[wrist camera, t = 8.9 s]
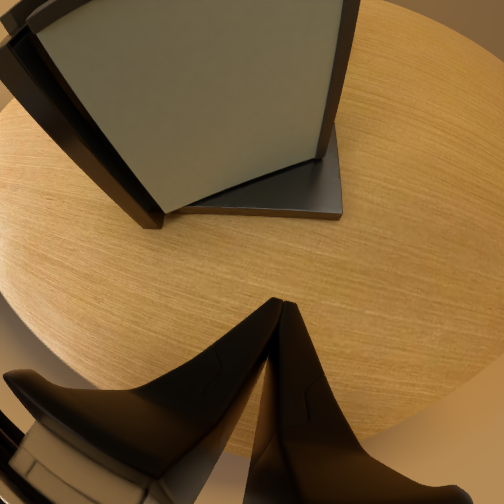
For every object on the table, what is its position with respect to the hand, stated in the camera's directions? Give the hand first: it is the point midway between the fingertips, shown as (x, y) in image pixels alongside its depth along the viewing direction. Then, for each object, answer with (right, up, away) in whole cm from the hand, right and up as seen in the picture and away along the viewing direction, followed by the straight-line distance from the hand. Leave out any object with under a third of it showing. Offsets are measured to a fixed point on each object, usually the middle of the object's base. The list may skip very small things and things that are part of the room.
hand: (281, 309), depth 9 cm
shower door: (-1, +7, +10) cm, 12 cm away
